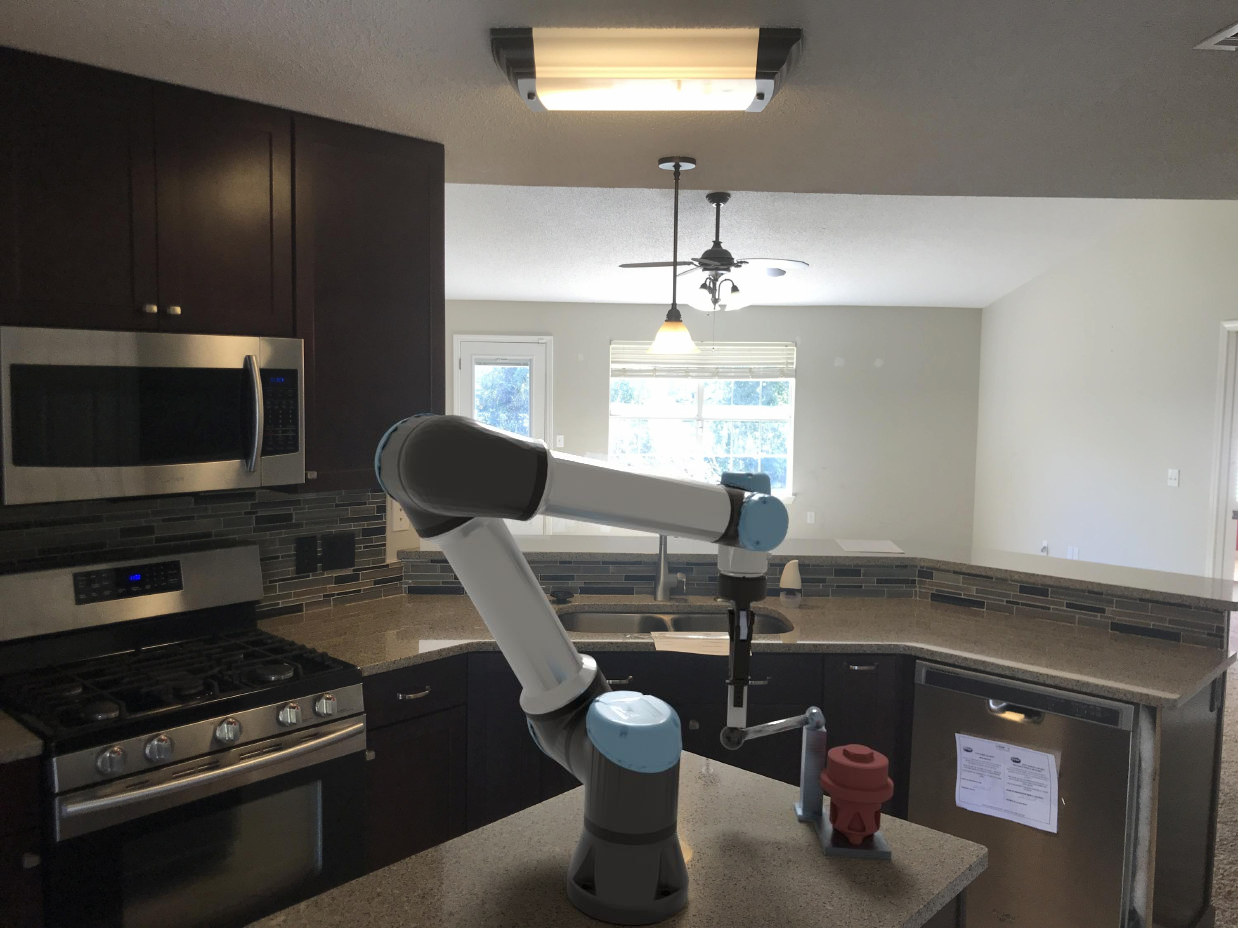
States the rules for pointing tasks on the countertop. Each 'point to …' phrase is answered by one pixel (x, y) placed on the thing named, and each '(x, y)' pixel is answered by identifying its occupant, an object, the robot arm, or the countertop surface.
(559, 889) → the countertop surface
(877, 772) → the mechanical component
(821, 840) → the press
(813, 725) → the lever
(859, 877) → the countertop surface
